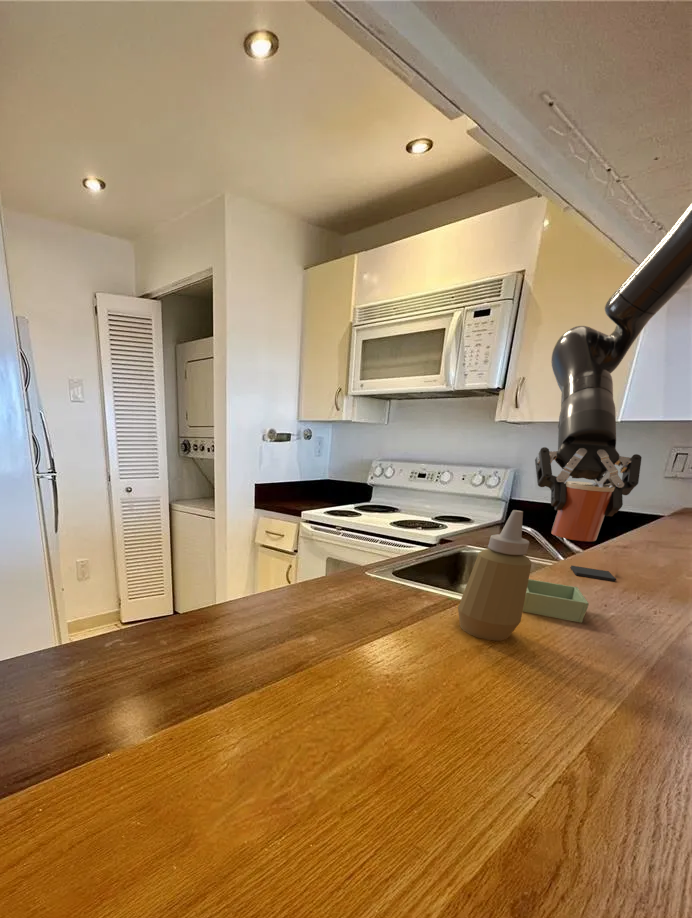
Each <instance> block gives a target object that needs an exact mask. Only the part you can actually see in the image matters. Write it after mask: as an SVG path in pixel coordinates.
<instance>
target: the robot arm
mask: <svg viewBox="0 0 692 918" xmlns="http://www.w3.org/2000/svg"><path fill="white" fill-rule="evenodd" d="M691 278H692V202H691V203H690V204H689V206H688V207H687V208H686V209H685V211H684V212H683V214H681V216H680V217H679V218H678V219H677V221H675V223H674V224H673V226H672V227H670V229H669V230H668V231H667V233H666V234H665V235H664V236H663V237H662V238H661V239H660V240H659V242H658V243H657V244H656V245H655V247H654V248H653V249H651V251H650V252H649V253H648V254H647V255H646V257H644V259H643V260H642V261H641V262H640V263H639V264H638V265H637V266H636V267H635V269H633V271H632V272H631V273H630V274H629V275H628V276H627V278H626V279H625V280H624V281H623V282H622V283H621V284H620V286H619V287H618V288H617V289H616V290H615V291H614V292H613V294H612V295H610V297H609V298H608V299H607V301H606V303H605V305H604V312H605V315H606V316H607V317H608V319H610V321H612V322H613V323H614V324H615V328H614V329H613V331H612V332H611V333H610V334H606V333H604V332H601V331H600V330H597V329H595V328H592V327H590V326H587V325H577V326H574V327H572V328H569V329H567V330H566V331H565V332H564V333H563V334H562V335H561V336H560V337H559V338H558V340H557V341H556V343H555V345H554V347H553V350H552V353H551V361H550V362H551V369H552V372H553V375H554V378H555V380H556V381H555V382H556V383H557V386H558V388H559V390H560V393H561V398H560V399H561V402H560V412H559V416H558V423H557V429H558V433H557V435H558V437H557V450H553V451H552V450H550V449H549V448H548V447H546V446H544V447H541V448H540V449H539V452H538V453H537V455H536V457H535V459H534V464H535V473H536V482H537V486H538V487H540V488H545V487H546V488H549V489H550V505H551V507H554V510H555V511H558V510H559V511H561V509H562V508H563V506H564V505H565V502H566V482H567V480H568V479H569V478H570V477H571V478H572V479H586V480H589V481H594V483H598V484H604V485H610V486H614V487H615V490H614V491H613V493H612V496H611V499H610V502H609V504H608V507H607V510H606V513H605V516H606V517H613V516H614V515H615V514H617V513H618V512H619V511H620V510H621V508H622V507H623V506H624V504H623V503H624V500H623V499H624V498H623V496H628V495H630V494H631V492H632V491H633V489H634V488H635V487H637V486H638V485H639V480H640V473H641V465H642V456H641V455H640V454H637V453H636V454H633V455H632V456H631V457H630V456H629V457H628V456H622V455H620V453H619V452H618V450H617V449H616V447H617V416H616V414H617V413H616V404H615V400H614V383H613V382H614V381H613V376H612V373H613V372H614V371H615V370H616V369H617V368H618V367H619V365H620V364H621V363H622V361H623V359H625V356H626V355H627V353H628V352H629V349H631V347H632V345H633V344H634V343H635V341H636V339H637V338H638V337H639V335H640V334H641V333H642V331H643V329H644V328H645V327H646V326H647V324H648V323H649V321H650V320H651V319H652V318H653V317H654V316H656V314H657V313H658V312H659V311H660V310H662V308H663V307H664V306H665V305H666V304H667V303H668V302H669V301H670V300H671V299H672V298H673V297H674V296H675V295H676V294H677V293H678V292H679V291H680V290H681V288H683V287H684V286H685V284H686V283H687V282H688V281H689V280H690V279H691ZM553 461H555V463H556V464H557V466H559V467H561V469H562V470H561V471H560V473H559V474H558V475H557V476H556V475H553V471H552V463H553ZM616 466H618V468H619V469H618V468H617V467H616ZM619 473H621V474H622V476H621V477H620V476H619Z"/></svg>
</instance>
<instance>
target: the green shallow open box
mask: <svg viewBox="0 0 692 918" xmlns="http://www.w3.org/2000/svg"><path fill="white" fill-rule="evenodd" d="M589 604H590V603H589V602H588V600H587V599H586V598H585V596H584V595H583V593H582V592H581V590H580V589H579V587H578V586H572V585H568V584H567V585H565V584H562V583H554V582H549V581H543V580H539V579H538V580H537V579H531V578H529V580H528V585H527V590H526V596H525V601H524V606H523V612H522V613H529V614H534V615H540V616H545V617H550V618H556V619H561V620H565V621H570V622H574V623H575V622H577V623H583V622H584V617H585V615H586V613H587V610H588V608H589Z"/></svg>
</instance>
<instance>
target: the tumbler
mask: <svg viewBox="0 0 692 918" xmlns="http://www.w3.org/2000/svg"><path fill="white" fill-rule="evenodd" d="M565 483H566V502H565V505H564V506H563V508H562V509H561V511H559V510H557V512H556V515H555V518H554V522H553V525H552V528H551V531H550V533H551V534H552V535H553V536H556V537H558V538H562V539H566V540H572V541H578V542H596V541H597V539H598V536H599V533H600V531H601V528H602V524H603V522H604V519H605V516H606V510H607V507H608V504H609V502H610V499H611V496H612V493H613V491H614V490H615V487H614V486H610V485H604V484H598V483H596V482H590V481H589V482H588V481H577V480H576V481H574V480H570V481H569V480H568V481H567V480H566V482H565Z"/></svg>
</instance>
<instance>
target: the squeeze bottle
mask: <svg viewBox="0 0 692 918" xmlns="http://www.w3.org/2000/svg"><path fill="white" fill-rule="evenodd" d="M523 518H524V511H523V510H517V509H513V510H512V511H511V512H510V515H509V517H508V518H507V520H506V522H505V524H504V525H503V528H502V530H501V531H500V533H499V534H498V533H497V534H491V535H490V538H489V541H488V545H487V548H486V549H483V550H481V551H479V552H478V554H477V557H476V559H475V562H474V565H473V567H472V569H471V572H470V574H469V578H468V579H467V583H466V586H465V587H464V591H463V593H462V596H461V599H460V601H459V604H458V607H457V613H458V621H459V626H460V628H461V630H462V631H463V632H465V633H467V634H468V635H471V636H473V637H476V638H478V639H483V640H487V641H496V642H497V641H505V640H507V639H508V638H509V637H510V636H511V635H512V634H513V633H514V631H515V630H516V628H517V627H518V626H519V625H520V624H521V622H522V618H523V617H522V616H523V613H524V612H523V606H524V601H525V596H526V590H527V585H528V580H529V579H530V576H531V575H530V574H531V569H532V560H531V559H530V558H529V557H528V556H526V555H527V553H528V550H529V547H530V541H529V540H528V539H526V538H523V536H522V535H523Z"/></svg>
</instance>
